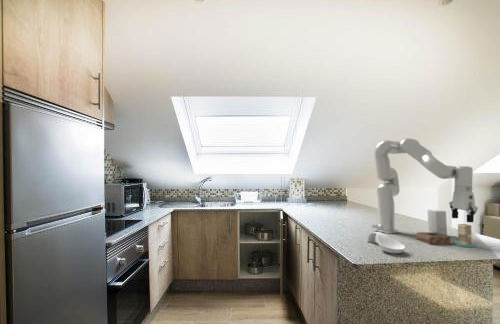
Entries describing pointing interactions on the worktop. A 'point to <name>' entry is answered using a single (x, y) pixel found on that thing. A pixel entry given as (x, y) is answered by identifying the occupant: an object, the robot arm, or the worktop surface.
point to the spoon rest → (386, 243)
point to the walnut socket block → (433, 238)
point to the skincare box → (437, 221)
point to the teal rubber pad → (464, 244)
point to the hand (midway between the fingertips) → (462, 220)
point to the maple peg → (464, 234)
